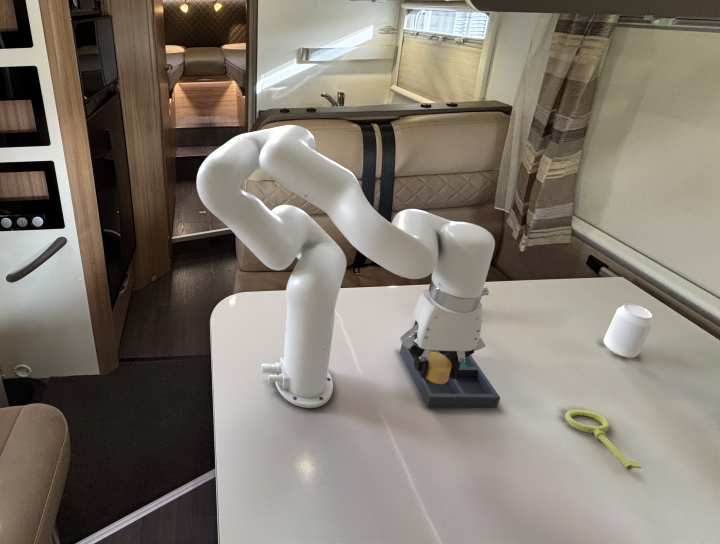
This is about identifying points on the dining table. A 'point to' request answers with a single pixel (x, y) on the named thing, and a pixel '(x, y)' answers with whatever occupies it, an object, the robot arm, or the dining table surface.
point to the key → (599, 434)
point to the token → (438, 368)
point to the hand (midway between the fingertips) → (434, 371)
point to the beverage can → (628, 330)
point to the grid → (454, 385)
